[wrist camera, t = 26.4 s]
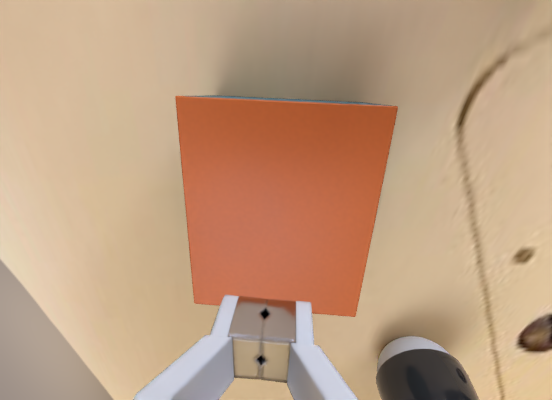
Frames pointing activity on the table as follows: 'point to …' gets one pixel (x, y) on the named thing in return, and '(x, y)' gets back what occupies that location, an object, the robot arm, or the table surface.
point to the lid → (282, 197)
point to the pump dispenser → (421, 372)
